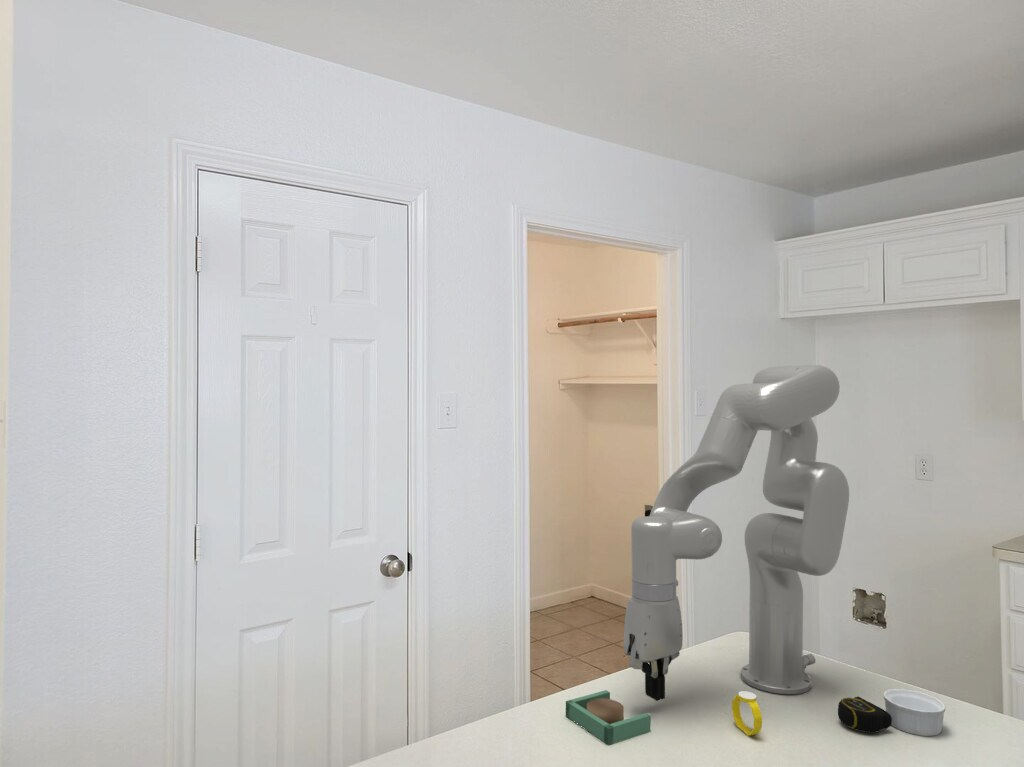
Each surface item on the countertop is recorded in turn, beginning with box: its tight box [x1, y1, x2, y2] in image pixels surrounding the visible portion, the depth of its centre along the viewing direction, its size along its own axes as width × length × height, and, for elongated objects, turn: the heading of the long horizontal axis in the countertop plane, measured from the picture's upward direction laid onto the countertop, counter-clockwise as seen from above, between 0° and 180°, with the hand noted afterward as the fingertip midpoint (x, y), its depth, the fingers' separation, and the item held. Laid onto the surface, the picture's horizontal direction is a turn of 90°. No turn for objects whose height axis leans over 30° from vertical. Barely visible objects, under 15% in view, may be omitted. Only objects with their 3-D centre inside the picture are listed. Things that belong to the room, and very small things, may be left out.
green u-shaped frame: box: [565, 689, 652, 746], centre depth 112 cm, size 9×11×2 cm
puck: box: [587, 698, 625, 724], centre depth 112 cm, size 6×6×3 cm
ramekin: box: [883, 688, 946, 737], centre depth 113 cm, size 9×9×4 cm
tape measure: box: [837, 696, 892, 733], centre depth 113 cm, size 7×7×4 cm
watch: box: [731, 690, 763, 737], centre depth 110 cm, size 6×3×6 cm, turn 18°
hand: (655, 696), depth 118 cm, fingers closed
